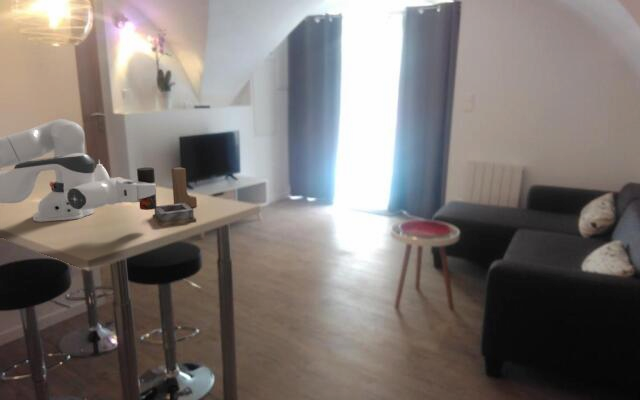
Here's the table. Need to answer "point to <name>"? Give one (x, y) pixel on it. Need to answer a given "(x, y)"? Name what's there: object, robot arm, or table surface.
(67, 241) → the table surface
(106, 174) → the white teardrop ornament
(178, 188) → the wooden block
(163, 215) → the grey shallow box
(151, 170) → the deodorant
